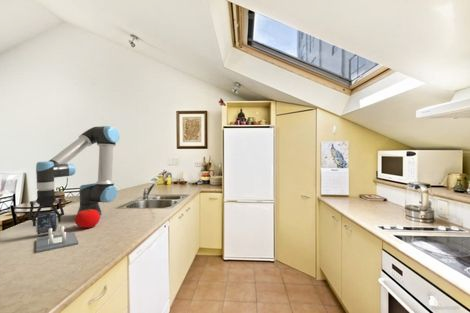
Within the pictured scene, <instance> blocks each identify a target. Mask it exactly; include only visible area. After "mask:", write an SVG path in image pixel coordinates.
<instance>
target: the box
mask: <svg viewBox="0 0 470 313" xmlns="http://www.w3.org/2000/svg"><path fill="white" fill-rule="evenodd" d="M56 216H57V214H56V213H55V211H54V210H53V211H52V210H51V211H43V212H39V214H38V215H37V218H36V220H37V232H38V233H37V235H41V234H46V233H48V229H49V228H52V233H54V232H55V233H56V230H57V228H56Z"/></svg>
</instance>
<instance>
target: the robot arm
mask: <svg viewBox="0 0 470 313" xmlns="http://www.w3.org/2000/svg"><path fill="white" fill-rule="evenodd" d="M120 137H121V136H120V132H119V130H118V128H116V127H114V126H111V125H102V126H101V125H100V126H94V127H91V128H89V129H87V130H85V131H84V132H82V133H81V134H80V135H78V138H77V139H76V140H74V141H73V142H72V143H70V144H69V145H68V146H66V147H65V148H63V150H61V151H60V152H59V153H58V154H56V155H55V156H53V157H52V158H51V159H49V160H47V161H38V162H36V164H35V172H36V190H37V191H36V196H37V197H36V198H37V199H36V200H31V201H30V202H29V204H30V208H29V212H28V218H27V219H28V221H32V227H35V233H36V234H38V232H37V215H38V214H39V213H41V210H42V208H44V207H51V209H52V210H53V211H55V213H56V230H58V229H59V223H61V220H62V218H61V217H62V216H64V215H65V212H64V208H63V205H62V200H63V199H62V197H56V196H55V194H56V192H55V178H64V177H70V176H73V175H75V173H76V170H77V169H76V166H75V165H74V164H73V163H69V162H71V160H73V159H74V158H75V157H77V155H79V153H81V152H82V151H83V150H85V149H86V148H87V147H91V146H92V145H95V144H96V145H97V146H98V147H99V148H98V166H97V167H98V168H97V169H98V170H97V181H96V182H95V183H87V184H81V185H80V186H79V207H78V209H77V213H76V215H77V214H78V212H80V211H83V210H88V209H94V210H97V211H98V212H99V214H100V216H101V215H102V210H101V207H100V204H99V203H103V204H104V203H108V204H109V203H111V202H113V201H115V199H116V198H117V195H118V189H117V188H116V186H115V184H114V182H113V157H114V155H113V154H114V147H116V143H117V142H119V140H120ZM54 202H57V203H58V206H59V209H60V210H58V209H57V207H56V206H55V204H54ZM36 203H37V204H38V205H39V206H38V207H37V209H36V211H35V213H34V216H33V212H34V206H35V205H36ZM59 211H60V212H59Z"/></svg>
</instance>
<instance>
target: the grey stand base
mask: <svg viewBox="0 0 470 313" xmlns="http://www.w3.org/2000/svg"><path fill="white" fill-rule="evenodd" d="M59 230H60V232H59V233H60V234H56V235H54V234H53V232H52V228H49V229H48V236H43V237H37V238H36V244H35V245H36V247H35V248H36V249H35V252H36V254H39V253H43V252H47V251H51V250H58V249H62V248H67V247H71V246H77V245H79V240H78V239H77V235H76V233H75V231H72V232H66V231H65V226H64V225H63V226H62V225H61V226H60V227H59Z"/></svg>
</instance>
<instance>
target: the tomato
mask: <svg viewBox="0 0 470 313" xmlns="http://www.w3.org/2000/svg"><path fill="white" fill-rule="evenodd" d="M77 212H78V211H77ZM100 219H101V215H100V214H99V212H98V211H97V210H94V209H88V210H83V211H80V212H78V214H77V213H76V215H75V217H74V223H75V224H76V225H77V226H78V227H80V228H83V229H85V228H86V229H89V228H93V227H96V225H97V224H98V223H99V222H100Z"/></svg>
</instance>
